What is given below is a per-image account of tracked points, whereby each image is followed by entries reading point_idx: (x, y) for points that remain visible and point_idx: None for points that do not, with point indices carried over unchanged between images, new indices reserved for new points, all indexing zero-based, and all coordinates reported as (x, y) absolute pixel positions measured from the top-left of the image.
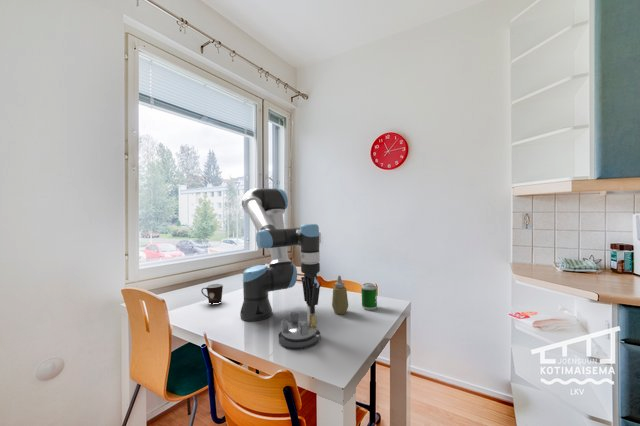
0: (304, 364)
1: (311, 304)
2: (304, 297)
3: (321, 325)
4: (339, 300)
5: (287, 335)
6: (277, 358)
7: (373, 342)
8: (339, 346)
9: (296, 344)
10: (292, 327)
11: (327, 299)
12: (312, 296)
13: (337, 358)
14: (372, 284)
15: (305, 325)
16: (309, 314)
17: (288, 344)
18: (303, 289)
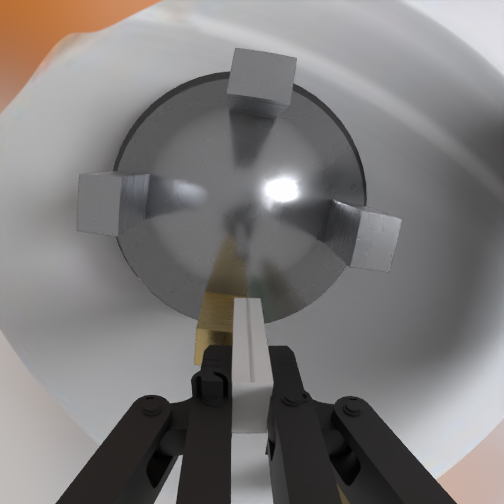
0: (30, 127)
1: (151, 403)
2: (374, 425)
3: (306, 368)
4: (345, 498)
5: (187, 91)
6: (128, 35)
7: (72, 412)
8: (77, 321)
9: (130, 132)
10: (277, 170)
11: (454, 443)
12: (101, 489)
13: (14, 260)
14: None
15: (81, 206)
16: (233, 333)
17: (166, 96)
18: (436, 497)
